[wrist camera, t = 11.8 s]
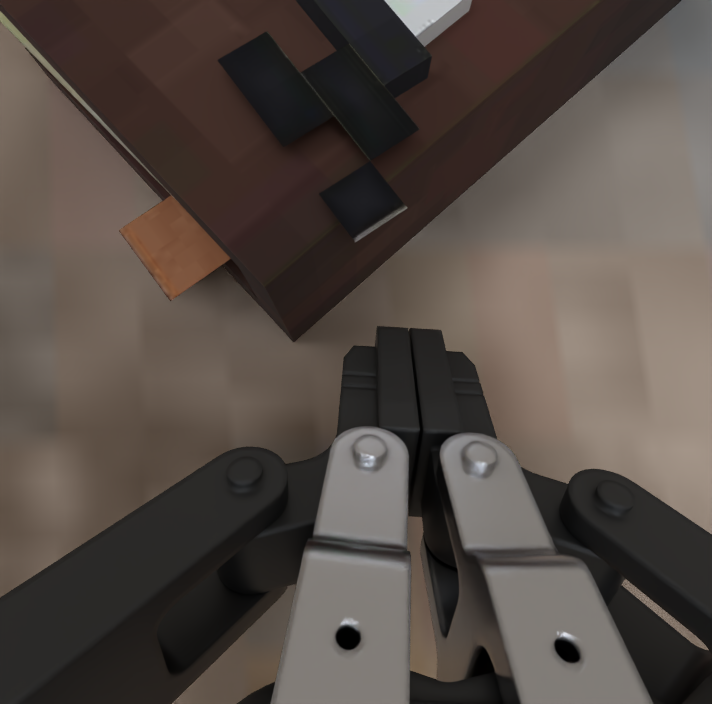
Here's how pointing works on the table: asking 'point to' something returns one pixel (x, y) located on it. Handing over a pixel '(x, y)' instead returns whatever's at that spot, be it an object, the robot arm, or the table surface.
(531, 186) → the table surface
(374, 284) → the table surface
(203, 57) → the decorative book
